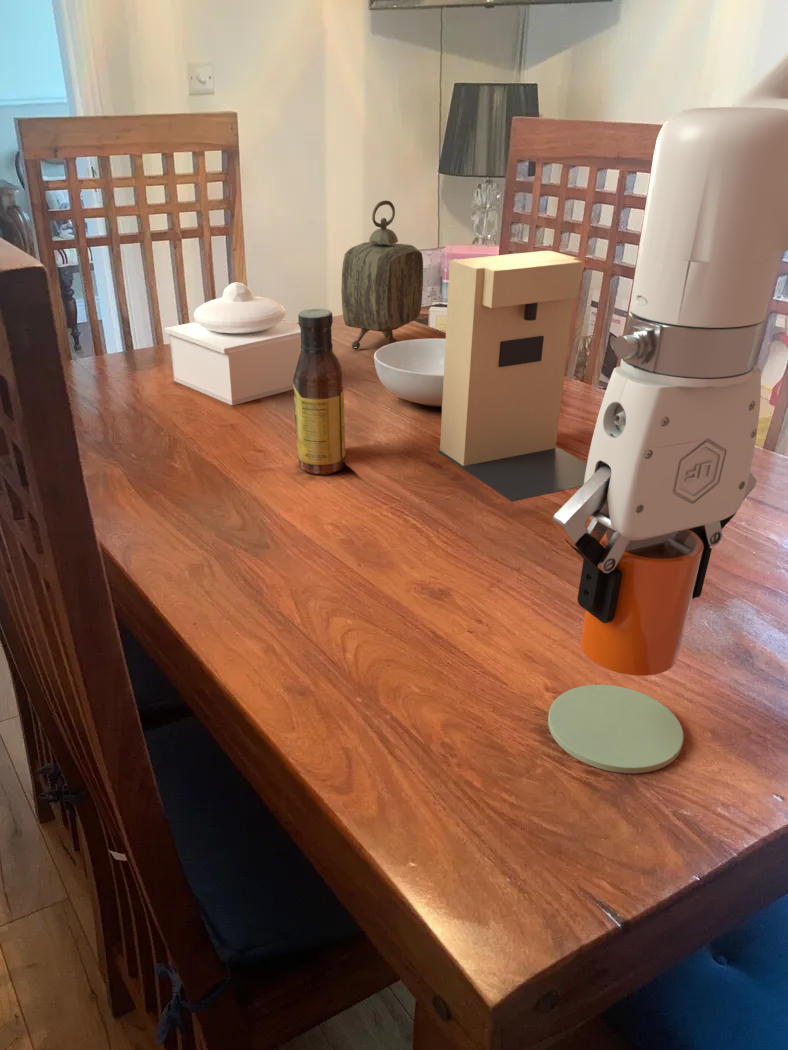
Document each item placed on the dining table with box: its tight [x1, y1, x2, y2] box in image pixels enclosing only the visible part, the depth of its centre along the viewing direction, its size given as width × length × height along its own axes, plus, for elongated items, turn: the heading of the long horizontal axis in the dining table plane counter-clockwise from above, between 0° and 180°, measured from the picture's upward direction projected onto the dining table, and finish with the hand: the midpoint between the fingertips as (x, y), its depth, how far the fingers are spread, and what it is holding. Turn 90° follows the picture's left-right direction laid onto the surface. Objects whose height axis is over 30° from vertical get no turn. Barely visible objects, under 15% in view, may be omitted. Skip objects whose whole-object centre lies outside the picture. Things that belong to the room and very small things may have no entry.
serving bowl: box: [373, 337, 446, 408], centre depth 134 cm, size 21×21×7 cm
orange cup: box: [580, 529, 704, 677], centre depth 60 cm, size 7×7×9 cm
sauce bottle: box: [293, 308, 347, 476], centre depth 107 cm, size 6×6×20 cm
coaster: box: [547, 684, 685, 775], centre depth 67 cm, size 10×10×1 cm
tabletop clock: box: [341, 200, 424, 350], centre depth 157 cm, size 14×9×25 cm, turn 145°
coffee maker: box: [436, 250, 587, 503], centre depth 103 cm, size 18×15×25 cm
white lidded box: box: [164, 281, 301, 406], centre depth 140 cm, size 18×18×16 cm
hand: (638, 599), depth 61 cm, fingers closed on orange cup, 6 cm apart
